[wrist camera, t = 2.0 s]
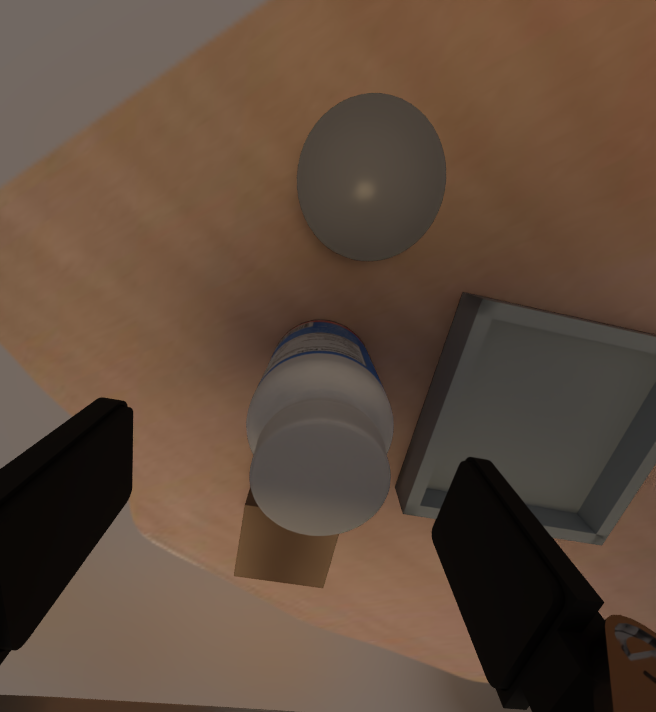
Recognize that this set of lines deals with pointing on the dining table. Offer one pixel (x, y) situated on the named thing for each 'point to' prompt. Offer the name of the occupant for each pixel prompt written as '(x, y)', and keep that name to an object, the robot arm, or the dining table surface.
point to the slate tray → (538, 415)
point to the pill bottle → (320, 432)
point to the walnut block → (281, 551)
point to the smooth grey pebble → (371, 177)
